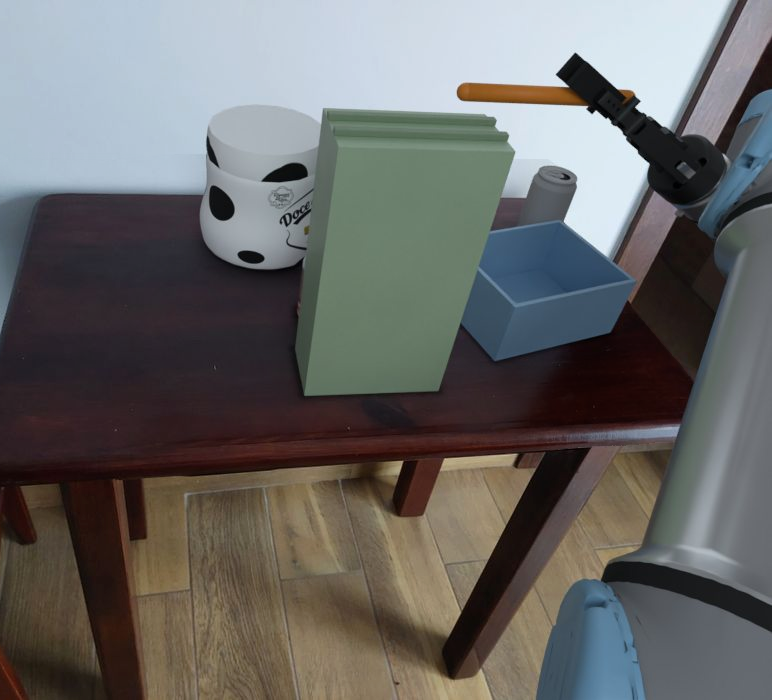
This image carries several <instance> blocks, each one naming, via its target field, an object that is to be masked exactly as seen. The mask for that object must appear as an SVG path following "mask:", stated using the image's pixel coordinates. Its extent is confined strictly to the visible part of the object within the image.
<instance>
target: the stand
mask: <svg viewBox="0 0 772 700" xmlns="http://www.w3.org/2000/svg"><path fill="white" fill-rule="evenodd" d="M497 122H498V120H497V119H496V117H495V116H487V115H486V114H485V113H464V112H462V113H461V112H437V111H412V110H411V111H410V110H385V109H361V108H360V109H358V108H335V107H333V108H331V107H323V108H322V113H321V120H320V124H321V130H320V138H319V147H318V155H317V164H316V173H315V181H314V190H313V199H312V207H311V216H310V224H309V233H308V242H307V250H306V259H305V267H304V276H303V285H302V293H301V302H300V311H299V316H298V318H297V319H298V321H297V329H296V330H297V331H296V337H295V345H294V351H295V355H296V361H297V366H298V371H299V376H300V377H299V378H300V381H301V386H302V391H303V396H304V397H313V396H315V397H316V396H339V395H344V396H345V395H365V394H366V395H368V394H392V393H393V394H395V393H398V394H399V393H422V392H423V393H424V392H439V391H440V387H441V384H442V381H443V378H444V375H445V372H446V370H447V366H448V363H449V360H450V357H451V353H452V351H453V348H454V345H455V341H456V338H457V335H458V331H459V328H460V326H461V319H462V316H463V313H464V310H465V307H466V304H467V301H468V298H469V295H470V292H471V288H472V285H473V282H474V279H475V276H476V273H477V270H478V267H479V264H480V261H481V258H482V254H483V251H484V248H485V245H486V242H487V239H488V236H489V233H490V231H492V227H493V223H494V221H495V217H496V214H497V211H498V207H499V205H500V201H501V200H502V199H501V198H502V195H503V192H504V190H505V189H504V188H505V186H506V183H507V180H508V177H509V173H510V171H511V167H512V165H513V161H514V158H515V155H516V150H515V149H514V148H513V147H512V145H511V144H510V143H509V142H508V141H509V139H510V138H509V137H510V133H508V131H502V130H501V131H500V130H499V129H498V128H497V127H496V125H497Z"/></svg>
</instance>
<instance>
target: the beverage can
mask: <svg viewBox="0 0 772 700" xmlns="http://www.w3.org/2000/svg"><path fill="white" fill-rule="evenodd" d="M577 182H578V176H577V175H576V174H575V173H574V172H573V171H571V170H570V169H567V168H564V167H561V166H557V165H543V166H541V167H539V168H538V171H537V172H536V173H535V174H534V175H533V176H532V180H531V182H530V185H529V188H528V192H527V194H526V196H525V200H524V203H523V206H522V208H521V212H520V214H519V217H518V220H517V223H516V226H515V227H519V226H525V225H531V224H537V223H543V222H549V221H555V220H561V221H562V222H564V223H565V219H566V217H567V214H568V211H569V209H570V208H571V207H570V206H571V204H572V201H573V199H574V196H575V194H576V191H577V190H578V186H577Z"/></svg>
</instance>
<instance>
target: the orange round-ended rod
mask: <svg viewBox="0 0 772 700" xmlns="http://www.w3.org/2000/svg"><path fill="white" fill-rule="evenodd" d="M617 89H618V90H619V91H620V92H621V93H622V94H623V95H624V96H625V97H626V99H625V100H624V101H623V102H622V104H623V105H624V104H625V103H626V102H627V101H628V100H629V99H630V98H631V97H632V96H633V95H634V96H636V97H637V95H636V93H635V92H634V91H633V90H631V89H621V88H620V89H619V88H617ZM456 97H457V99H458V100H460V101H461V102H469V103H470V102H471V103H472V102H473V103H495V104H497V103H498V104H520V105H521V104H522V105H547V106H548V105H549V106H571V107H573V106H574V107H588V106H590V105H589V104H588V103H587V102H586V101H585V100H583V99H582V98H581V97H580V96H579V95H578V94H577V93H575V92H574V91H573V90H572V89H571V88H570V87H568V86H553V85H551V86H550V85H534V84H533V85H532V84H531V85H529V84H509V83H488V82H487V83H486V82H462V83H461V84H460V85H458V87H457V89H456Z"/></svg>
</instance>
